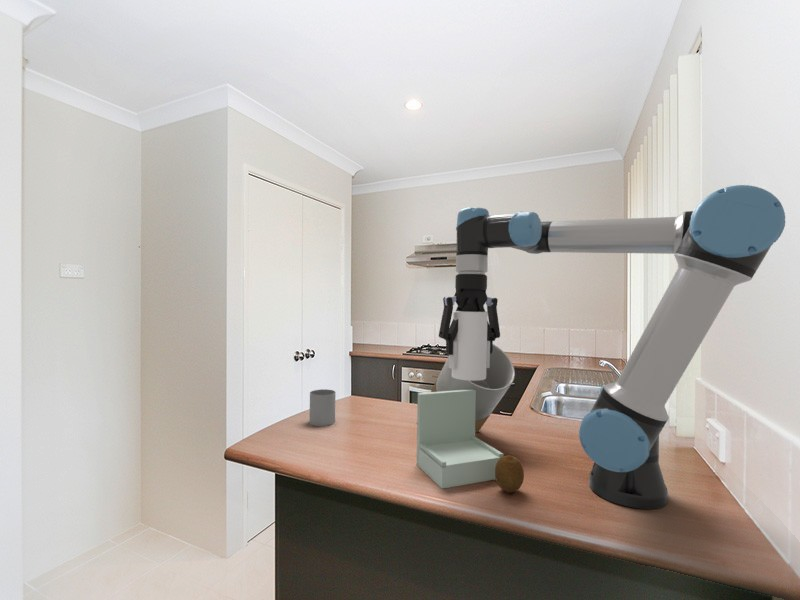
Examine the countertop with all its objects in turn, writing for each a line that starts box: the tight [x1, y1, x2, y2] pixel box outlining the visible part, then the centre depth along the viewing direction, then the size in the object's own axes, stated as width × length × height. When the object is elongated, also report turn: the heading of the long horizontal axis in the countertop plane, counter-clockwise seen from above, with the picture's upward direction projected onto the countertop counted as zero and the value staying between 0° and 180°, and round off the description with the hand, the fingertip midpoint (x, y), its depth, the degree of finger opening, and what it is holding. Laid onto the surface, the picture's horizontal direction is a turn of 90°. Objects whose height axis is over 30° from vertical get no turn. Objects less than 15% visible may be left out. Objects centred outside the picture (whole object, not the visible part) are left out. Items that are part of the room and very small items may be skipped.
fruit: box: [495, 454, 525, 493], centre depth 90 cm, size 6×6×8 cm
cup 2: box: [452, 309, 489, 381], centre depth 100 cm, size 8×8×16 cm
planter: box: [430, 343, 516, 433], centre depth 124 cm, size 19×19×26 cm
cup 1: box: [309, 388, 336, 427], centre depth 138 cm, size 8×8×10 cm
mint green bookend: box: [416, 389, 504, 489], centre depth 101 cm, size 14×16×18 cm
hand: (469, 367), depth 100 cm, fingers closed on cup 2, 8 cm apart
